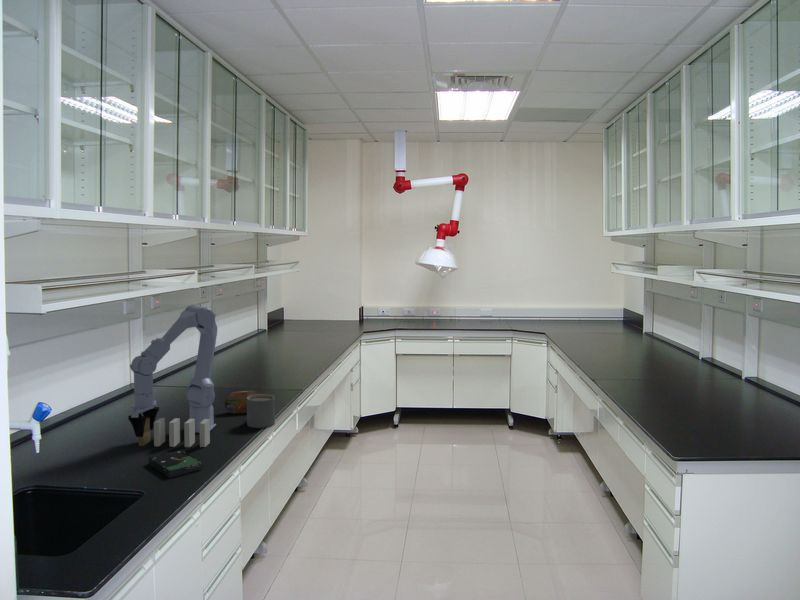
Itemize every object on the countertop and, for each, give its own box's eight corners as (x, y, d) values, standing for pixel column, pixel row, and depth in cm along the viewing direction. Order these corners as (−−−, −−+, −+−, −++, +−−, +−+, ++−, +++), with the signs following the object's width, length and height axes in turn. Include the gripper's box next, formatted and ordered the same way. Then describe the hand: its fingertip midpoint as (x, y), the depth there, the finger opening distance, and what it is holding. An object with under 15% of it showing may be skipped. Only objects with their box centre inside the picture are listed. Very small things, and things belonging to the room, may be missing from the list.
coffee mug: (273, 427, 221) (273, 400, 221) (245, 428, 220) (245, 401, 219) (275, 417, 235) (276, 391, 234) (249, 417, 233) (249, 392, 232)
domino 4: (199, 447, 199) (199, 423, 198) (205, 442, 204) (204, 419, 203) (204, 447, 199) (204, 423, 198) (209, 442, 204) (209, 419, 203)
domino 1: (154, 446, 199) (153, 422, 198) (160, 441, 204) (160, 417, 203) (159, 446, 199) (158, 422, 198) (165, 441, 204) (164, 418, 203)
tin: (224, 414, 237) (224, 393, 236) (224, 412, 240) (223, 391, 239) (264, 411, 242) (264, 390, 242) (262, 409, 245) (262, 388, 244)
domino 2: (169, 446, 199) (169, 422, 198) (175, 441, 204) (174, 418, 203) (174, 446, 199) (173, 422, 198) (180, 441, 204) (179, 418, 203)
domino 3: (184, 447, 199) (184, 423, 198) (190, 442, 204) (189, 418, 203) (189, 447, 199) (189, 423, 198) (194, 442, 204) (194, 418, 203)
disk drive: (147, 466, 183) (169, 479, 173) (147, 457, 183) (169, 470, 172) (181, 458, 190) (203, 470, 180) (181, 449, 190) (203, 461, 180)
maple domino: (138, 445, 199) (138, 421, 198) (145, 440, 204) (144, 417, 203) (143, 445, 199) (143, 421, 198) (150, 441, 204) (149, 417, 203)
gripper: (141, 387, 207) (142, 426, 209) (121, 397, 193) (122, 439, 194) (162, 387, 207) (162, 426, 209) (143, 398, 193) (144, 440, 194)
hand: (144, 433), depth 201 cm, fingers open, 7 cm apart
